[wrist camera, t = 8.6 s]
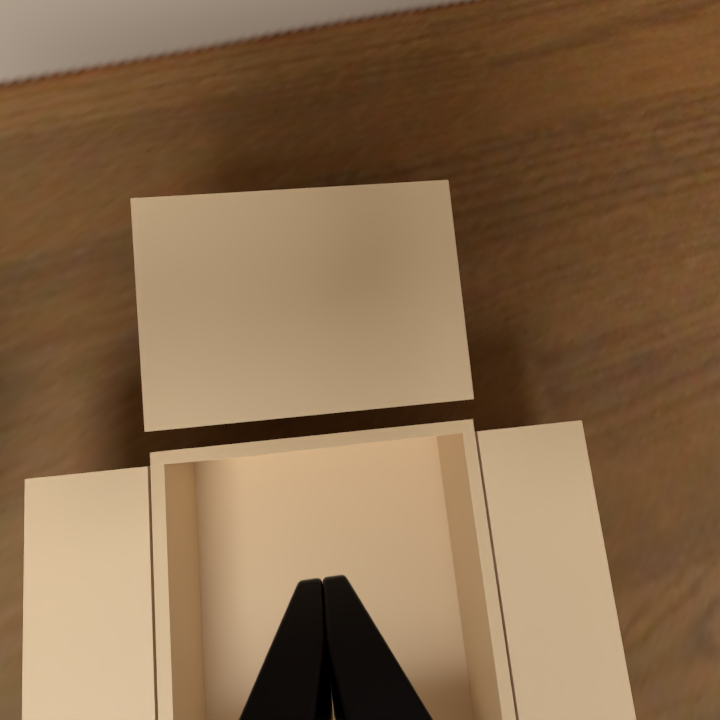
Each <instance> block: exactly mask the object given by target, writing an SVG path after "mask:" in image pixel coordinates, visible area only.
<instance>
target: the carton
mask: <svg viewBox="0 0 720 720" xmlns="http://www.w3.org/2000/svg"><path fill="white" fill-rule="evenodd" d="M336 575H344V576H346V577H347V579H348V580H349V582H350V584H351V585H352V587H353V589H354V590H355V592H356V593H357V595H358V597H359V598H360V600H361V602H362V603H363V605H364V607H365V608H366V610H367V612H368V613H369V615H370V616H371V618H372V620H373V621H374V623H375V625H376V626H377V628H378V630H379V631H380V633H381V635H382V636H383V638H384V639H385V641H386V643H387V644H388V646H389V648H390V649H391V651H392V653H393V654H394V656H395V658H396V659H397V661H398V662H399V664H400V666H401V667H402V669H403V671H404V672H405V674H406V676H407V677H408V679H409V681H410V682H411V684H412V685H413V687H414V689H415V690H416V692H417V694H418V695H419V697H420V699H421V700H422V702H423V704H424V705H425V707H426V708H427V710H428V712H429V713H430V715H431V717H432V718H433V720H636V716H635V710H634V705H633V699H632V694H631V688H630V683H629V677H628V672H627V666H626V661H625V655H624V650H623V644H622V639H621V633H620V628H619V622H618V617H617V611H616V606H615V600H614V595H613V589H612V584H611V578H610V573H609V568H608V562H607V557H606V551H605V546H604V540H603V535H602V529H601V524H600V518H599V513H598V507H597V502H596V496H595V491H594V485H593V480H592V474H591V469H590V463H589V458H588V452H587V447H586V441H585V436H584V430H583V425H582V420H580V421H570V422H561V423H551V424H542V425H533V426H523V427H514V428H504V429H495V430H485V431H476V432H475V431H474V424H473V419H468V420H459V421H449V422H439V423H430V424H420V425H410V426H401V427H391V428H381V429H372V430H362V431H352V432H343V433H333V434H323V435H314V436H304V437H294V438H285V439H275V440H266V441H256V442H246V443H237V444H227V445H217V446H208V447H198V448H188V449H179V450H169V451H159V452H150V466H146V467H136V468H127V469H117V470H108V471H98V472H89V473H79V474H70V475H61V476H51V477H42V478H32V479H25V513H24V593H23V674H22V720H239V718H240V715H241V713H242V711H243V708H244V706H245V704H246V701H247V699H248V697H249V694H250V692H251V690H252V687H253V685H254V683H255V681H256V678H257V676H258V674H259V671H260V669H261V667H262V664H263V662H264V660H265V657H266V655H267V653H268V650H269V648H270V646H271V644H272V641H273V639H274V637H275V634H276V632H277V630H278V627H279V625H280V623H281V620H282V618H283V616H284V613H285V611H286V609H287V607H288V604H289V602H290V600H291V597H292V595H293V593H294V590H295V588H296V586H297V584H298V582H299V581H301V580H306V579H313V578H320V579H321V580H322V582H323V579H324V578H325V577H328V576H336ZM322 584H323V583H322ZM332 706H333V700H332ZM333 720H335V717H334V709H333Z"/></svg>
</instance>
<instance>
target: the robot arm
mask: <svg viewBox="0 0 720 720" xmlns="http://www.w3.org/2000/svg"><path fill="white" fill-rule="evenodd" d="M322 583H323V584H322ZM332 700H333V706H332ZM333 709H334V717H335V720H433V718H432V717H431V715H430V713H429V712H428V710H427V708H426V707H425V705H424V704H423V702H422V700H421V699H420V697H419V695H418V694H417V692H416V690H415V689H414V687H413V685H412V684H411V682H410V681H409V679H408V677H407V676H406V674H405V672H404V671H403V669H402V667H401V666H400V664H399V662H398V661H397V659H396V658H395V656H394V654H393V653H392V651H391V649H390V648H389V646H388V644H387V643H386V641H385V639H384V638H383V636H382V635H381V633H380V631H379V630H378V628H377V626H376V625H375V623H374V621H373V620H372V618H371V616H370V615H369V613H368V612H367V610H366V608H365V607H364V605H363V603H362V602H361V600H360V598H359V597H358V595H357V593H356V592H355V590H354V589H353V587H352V585H351V584H350V582H349V580H348V579H347V577H346V576H344V575H336V576H328V577H325V578H324V579H323V582H322V580H321V579H320V578H313V579H306V580H301V581H299V582H298V584H297V586H296V588H295V590H294V593H293V595H292V597H291V600H290V602H289V604H288V607H287V609H286V611H285V613H284V616H283V618H282V620H281V623H280V625H279V627H278V630H277V632H276V634H275V637H274V639H273V641H272V644H271V646H270V648H269V650H268V653H267V655H266V657H265V660H264V662H263V664H262V667H261V669H260V671H259V674H258V676H257V678H256V681H255V683H254V685H253V687H252V690H251V692H250V694H249V697H248V699H247V701H246V704H245V706H244V708H243V711H242V713H241V715H240V718H239V720H333Z"/></svg>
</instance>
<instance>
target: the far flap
mask: <svg viewBox="0 0 720 720" xmlns="http://www.w3.org/2000/svg"><path fill="white" fill-rule="evenodd" d="M130 199H131V215H132V232H133V248H134V265H135V281H136V298H137V315H138V331H139V348H140V364H141V381H142V397H143V414H144V431H145V432H149V431H159V430H169V429H179V428H189V427H199V426H209V425H219V424H229V423H239V422H250V421H260V420H270V419H280V418H290V417H300V416H310V415H320V414H330V413H340V412H350V411H360V410H370V409H380V408H390V407H400V406H410V405H420V404H430V403H440V402H450V401H460V400H470V399H474V394H473V386H472V377H471V369H470V360H469V352H468V343H467V335H466V326H465V317H464V309H463V300H462V292H461V283H460V275H459V266H458V258H457V249H456V241H455V232H454V224H453V215H452V207H451V198H450V190H449V181H448V180H436V181H419V182H402V183H385V184H368V185H351V186H334V187H317V188H300V189H283V190H266V191H249V192H232V193H215V194H198V195H180V196H163V197H146V198H130Z"/></svg>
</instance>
